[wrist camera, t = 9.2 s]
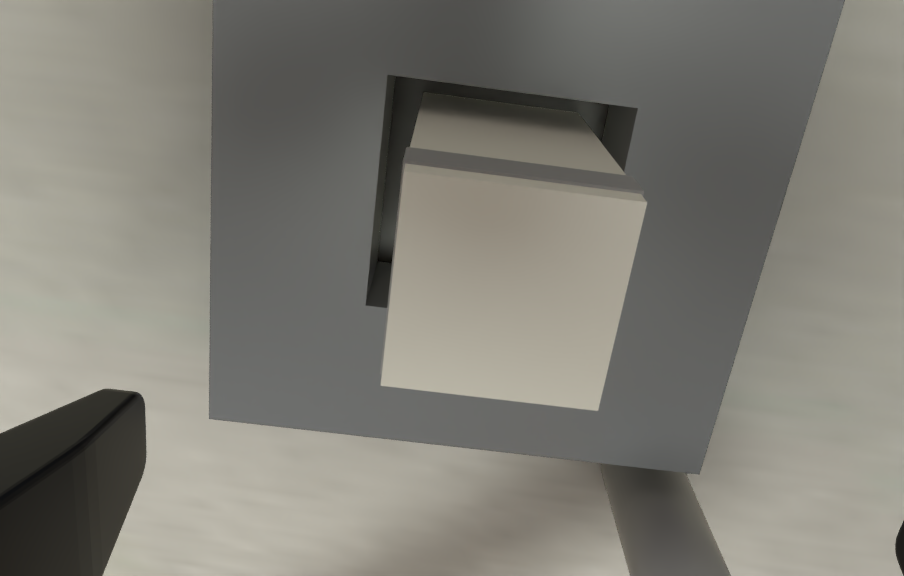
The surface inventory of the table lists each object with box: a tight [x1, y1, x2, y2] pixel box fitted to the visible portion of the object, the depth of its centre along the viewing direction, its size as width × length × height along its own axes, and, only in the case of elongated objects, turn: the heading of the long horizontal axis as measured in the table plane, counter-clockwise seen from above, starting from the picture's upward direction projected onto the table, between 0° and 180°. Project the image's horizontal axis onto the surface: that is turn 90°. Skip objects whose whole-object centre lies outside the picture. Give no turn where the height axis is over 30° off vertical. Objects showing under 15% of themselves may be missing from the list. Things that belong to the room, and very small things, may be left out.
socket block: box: [209, 0, 845, 576], centre depth 17 cm, size 14×16×8 cm
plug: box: [380, 92, 647, 411], centre depth 17 cm, size 4×4×8 cm
